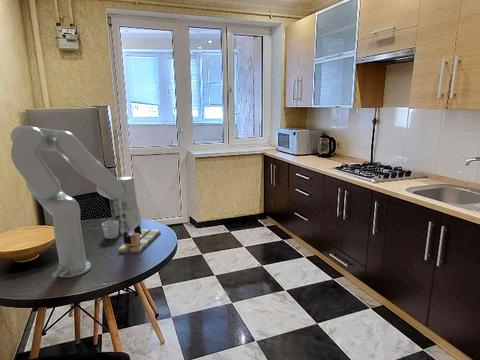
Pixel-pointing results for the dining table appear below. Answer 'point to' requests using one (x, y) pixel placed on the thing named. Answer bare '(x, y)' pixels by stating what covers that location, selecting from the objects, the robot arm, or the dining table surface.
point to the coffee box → (116, 211)
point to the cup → (110, 229)
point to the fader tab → (134, 239)
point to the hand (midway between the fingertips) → (133, 238)
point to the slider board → (141, 241)
